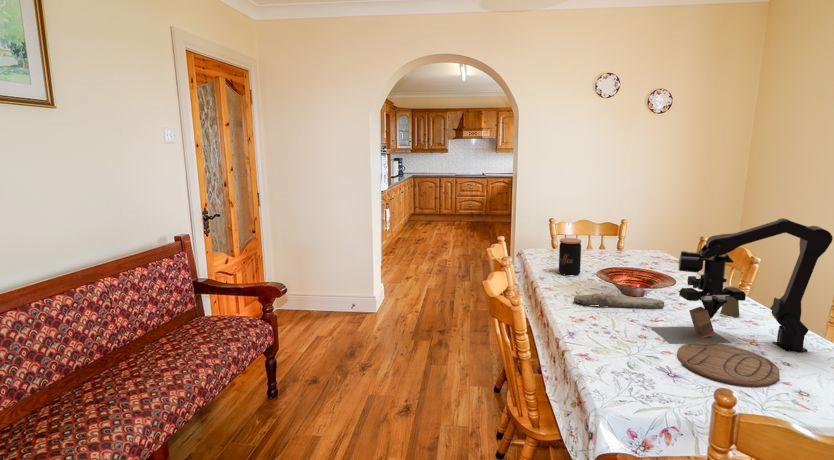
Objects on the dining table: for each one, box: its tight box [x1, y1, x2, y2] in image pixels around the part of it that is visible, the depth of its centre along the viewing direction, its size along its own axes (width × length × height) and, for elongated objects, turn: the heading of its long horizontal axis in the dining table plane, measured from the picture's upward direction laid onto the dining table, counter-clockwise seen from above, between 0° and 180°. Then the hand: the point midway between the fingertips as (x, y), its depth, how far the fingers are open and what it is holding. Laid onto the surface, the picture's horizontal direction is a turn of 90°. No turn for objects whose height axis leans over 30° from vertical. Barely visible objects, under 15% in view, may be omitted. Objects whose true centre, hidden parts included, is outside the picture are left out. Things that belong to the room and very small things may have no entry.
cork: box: [720, 286, 741, 318], centre depth 169 cm, size 6×6×11 cm
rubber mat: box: [649, 326, 732, 345], centre depth 153 cm, size 14×20×1 cm
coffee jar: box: [558, 237, 582, 276], centre depth 230 cm, size 11×11×18 cm
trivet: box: [676, 342, 780, 388], centre depth 132 cm, size 25×25×2 cm
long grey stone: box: [573, 293, 665, 310], centre depth 184 cm, size 35×5×10 cm
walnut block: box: [689, 306, 715, 338], centre depth 151 cm, size 4×4×9 cm
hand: (709, 318), depth 150 cm, fingers closed
